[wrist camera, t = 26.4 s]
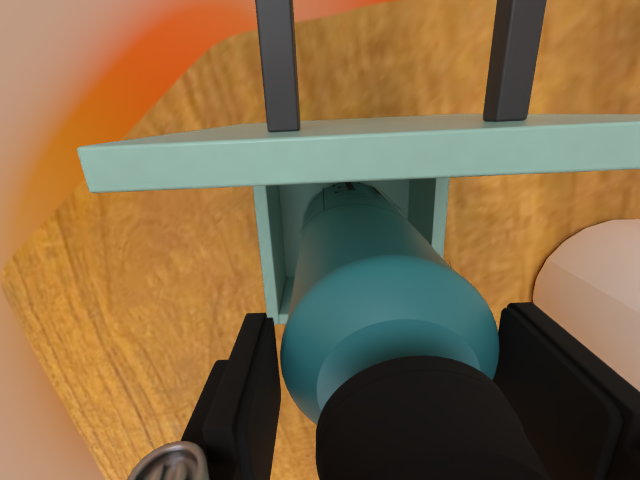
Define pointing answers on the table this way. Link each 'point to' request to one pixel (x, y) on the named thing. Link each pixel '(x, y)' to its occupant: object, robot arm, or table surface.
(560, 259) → the can
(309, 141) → the lid
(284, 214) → the cool box
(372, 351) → the beverage bottle
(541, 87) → the table surface
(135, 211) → the table surface
